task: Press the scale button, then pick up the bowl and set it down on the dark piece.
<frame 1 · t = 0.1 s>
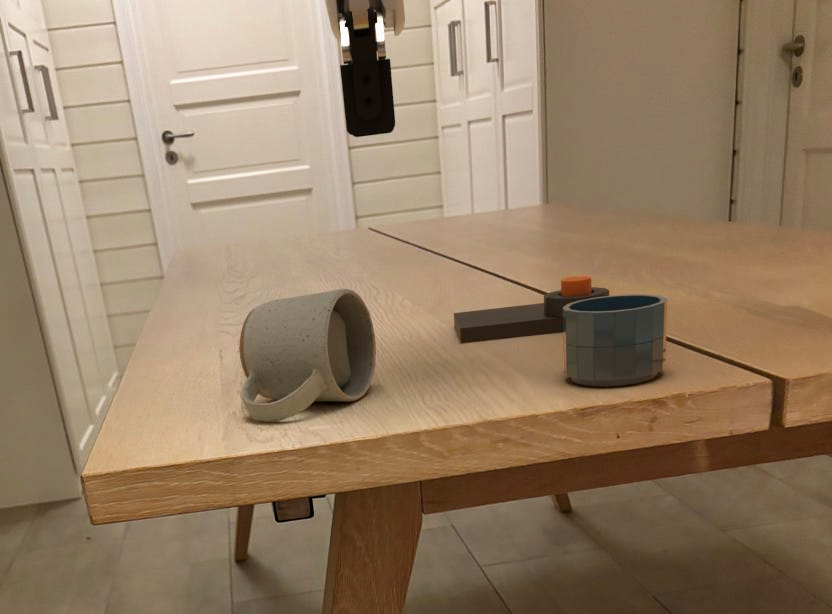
hand: (372, 133, 67), 17 cm above the table, tool pointing down, fingers open, 9 cm apart
ceramic mug: (308, 407, 71), on the table
bowl: (613, 376, 68), on the table
scale button: (576, 287, 85), point 3 cm above the table, slide at 0.1 cm
dark piece: (527, 328, 89), on the table
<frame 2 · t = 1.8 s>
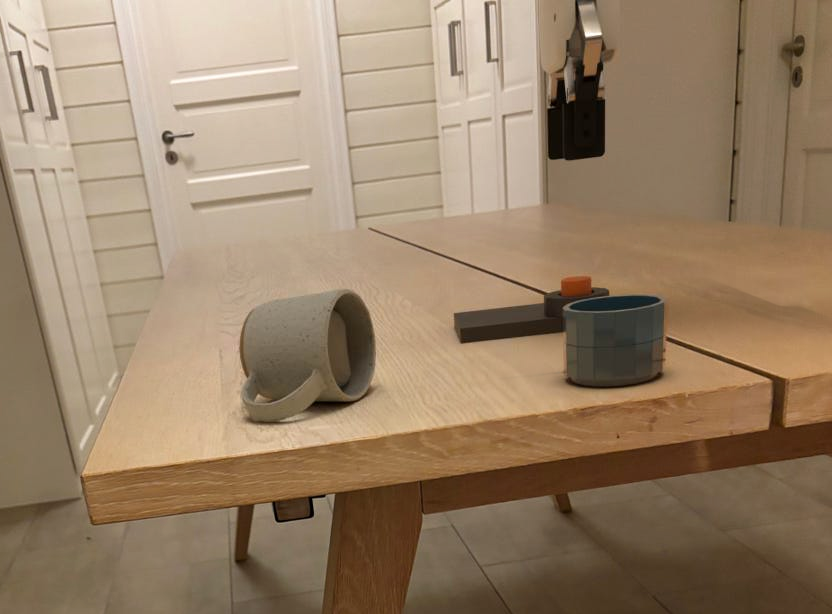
hand: (575, 156, 80), 14 cm above the table, tool pointing down, fingers open, 7 cm apart
nothing on the table moved.
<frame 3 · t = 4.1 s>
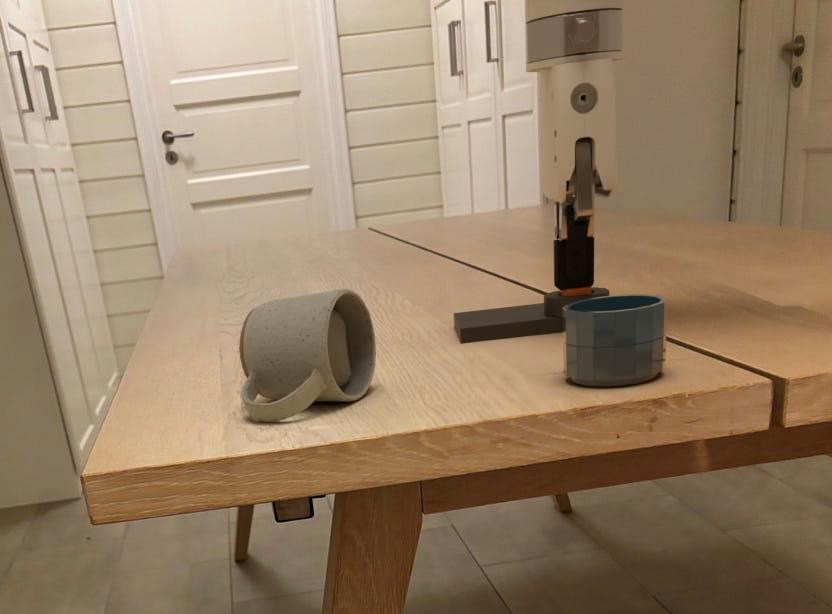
hand: (573, 286, 85), 3 cm above the table, tool pointing down, fingers closed
scale button: (576, 296, 85), point 3 cm above the table, slide at -0.6 cm, touching gripper
everything else where it was.
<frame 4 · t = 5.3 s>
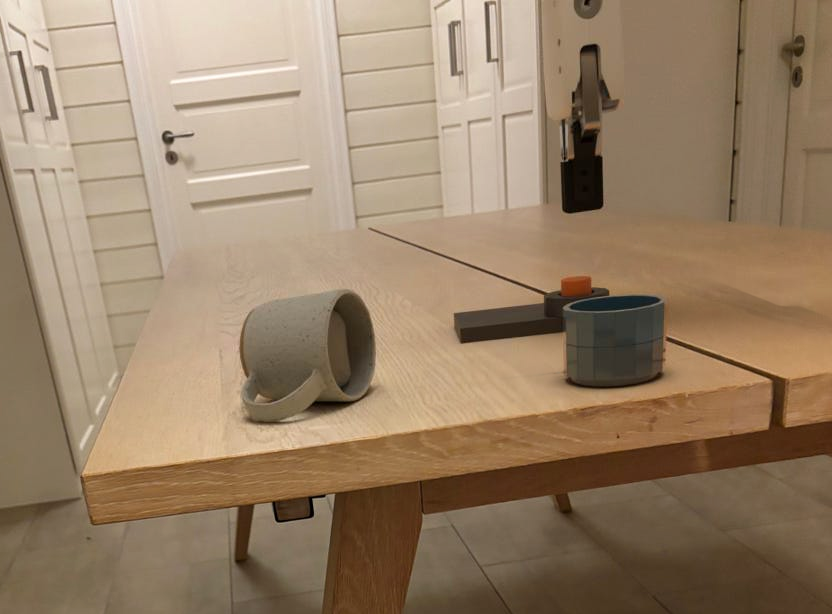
hand: (582, 210, 82), 10 cm above the table, tool pointing down, fingers closed
scale button: (576, 287, 85), point 3 cm above the table, slide at 0.1 cm
everything else where it was.
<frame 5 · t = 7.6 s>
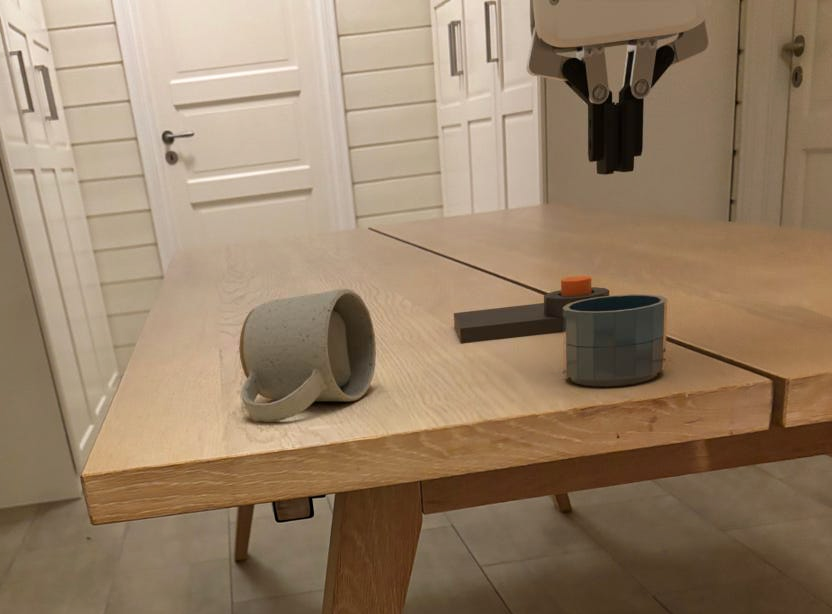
hand: (614, 171, 62), 13 cm above the table, tool pointing down, fingers closed
nothing on the table moved.
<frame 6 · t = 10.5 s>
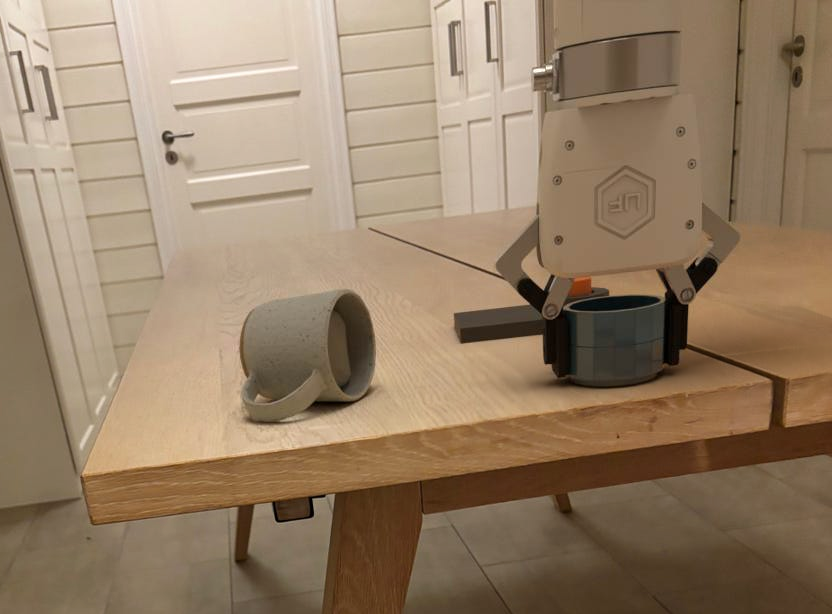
hand: (613, 365, 68), 1 cm above the table, tool pointing down, fingers closed on bowl, 6 cm apart
bowl: (613, 376, 68), on the table, touching gripper
everything else where it was.
when the fingers open (2 cm above the table, at t = 18.3 s): bowl stays where it is, resting on dark piece.
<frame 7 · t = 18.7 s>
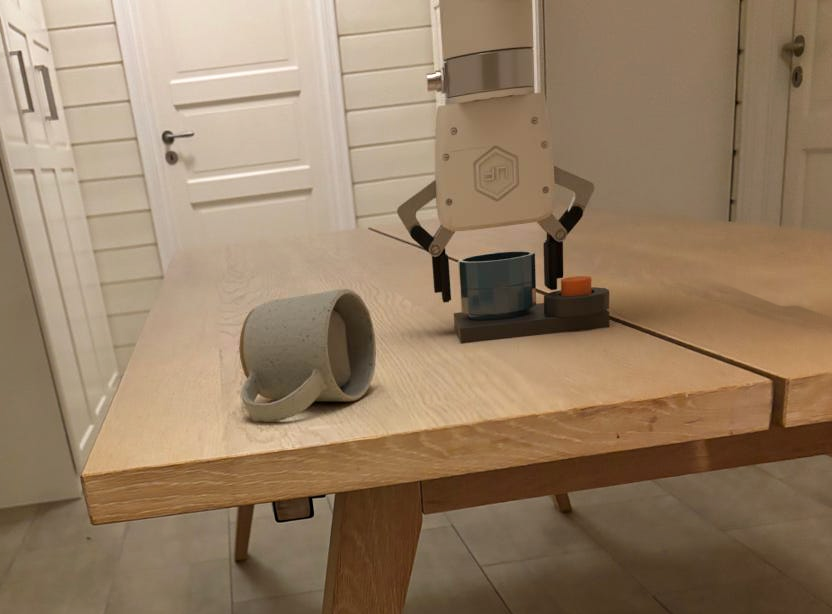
hand: (498, 294, 89), 3 cm above the table, tool pointing down, fingers open, 9 cm apart
bowl: (498, 313, 89), point 1 cm above the table, touching dark piece
everything else where it was.
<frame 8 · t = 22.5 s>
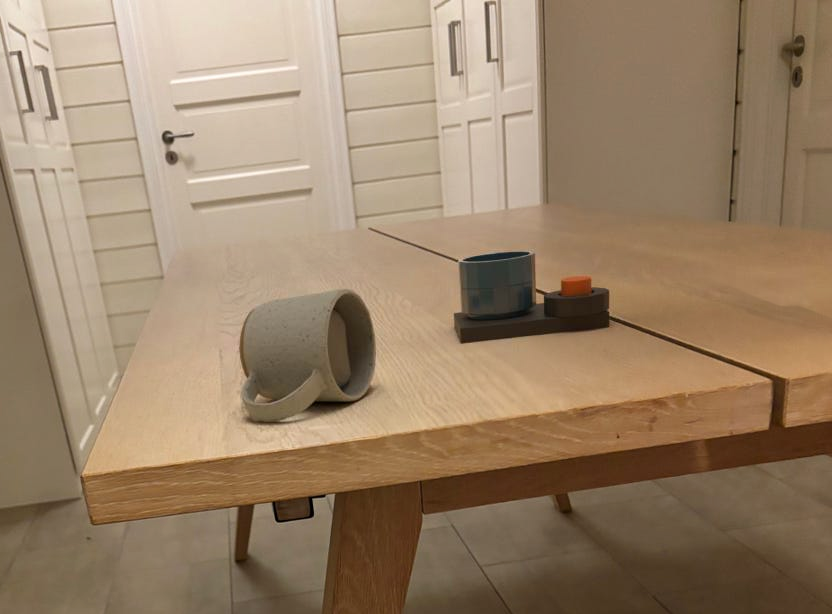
nothing on the table moved.
at the end: bowl inside the target area on the dark piece (2.7 cm from its centre), point 1.4 cm above the dark piece's base; bowl touching dark piece; scale button pushed in 0.9 cm at the most during the clip, back to where it started at the end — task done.
